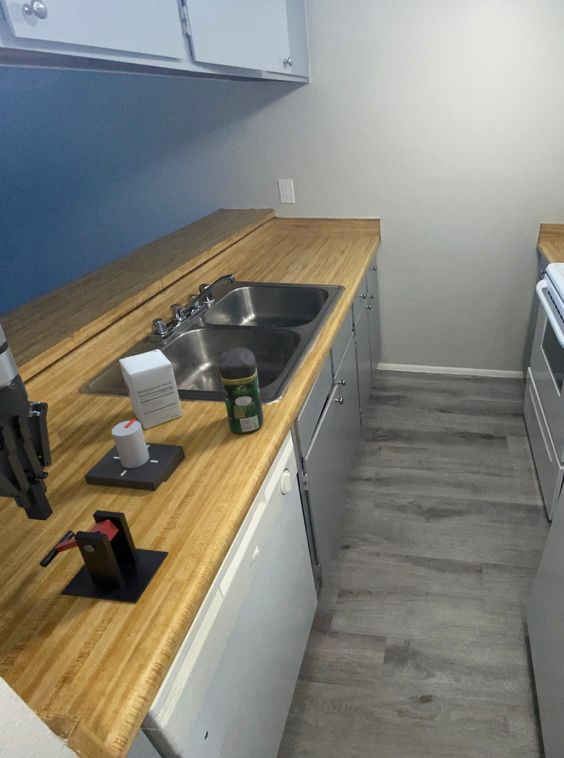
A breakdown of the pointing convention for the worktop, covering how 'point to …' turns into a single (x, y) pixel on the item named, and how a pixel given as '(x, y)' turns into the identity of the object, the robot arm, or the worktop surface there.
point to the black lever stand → (113, 563)
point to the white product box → (151, 388)
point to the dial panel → (137, 468)
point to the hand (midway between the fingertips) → (40, 515)
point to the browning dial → (130, 444)
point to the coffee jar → (241, 390)
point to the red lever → (69, 543)
